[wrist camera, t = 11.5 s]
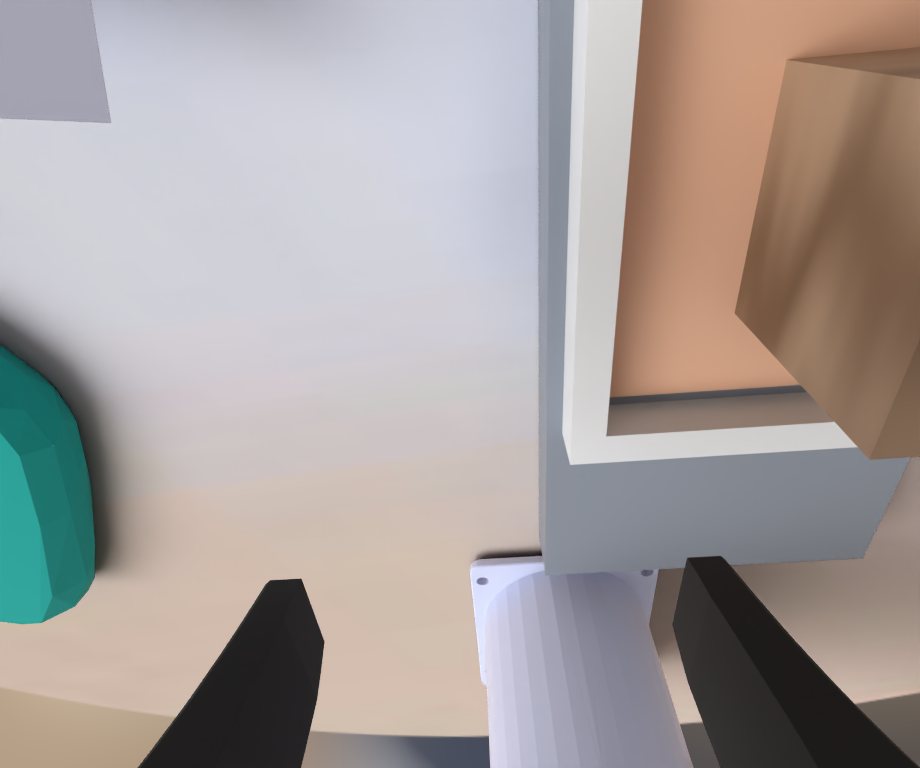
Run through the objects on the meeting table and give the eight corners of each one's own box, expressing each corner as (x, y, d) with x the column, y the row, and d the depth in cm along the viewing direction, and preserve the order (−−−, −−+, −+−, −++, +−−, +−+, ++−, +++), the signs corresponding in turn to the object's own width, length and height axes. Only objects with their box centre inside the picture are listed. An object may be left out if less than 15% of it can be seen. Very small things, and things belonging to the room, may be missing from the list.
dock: (833, 518, 23) (887, 592, 20) (539, 535, 23) (550, 609, 21) (1227, -445, 10) (1555, -639, 7) (537, -362, 10) (570, -511, 7)
